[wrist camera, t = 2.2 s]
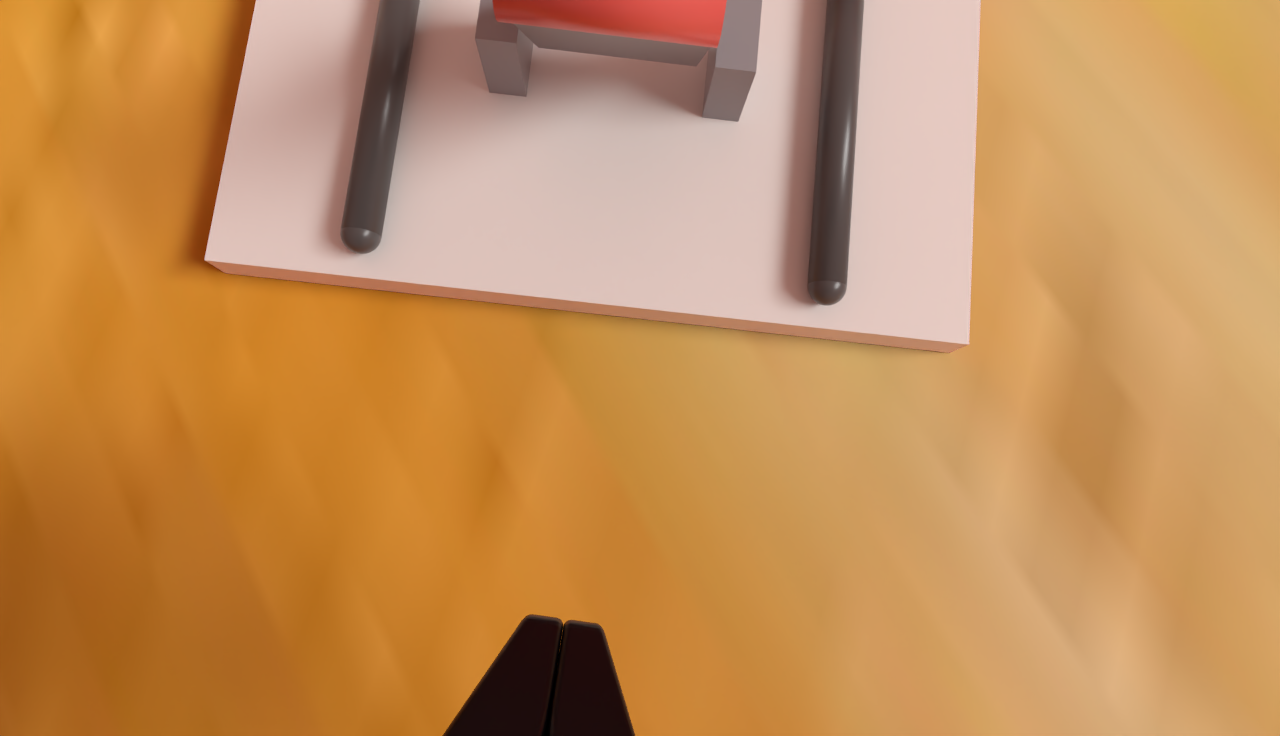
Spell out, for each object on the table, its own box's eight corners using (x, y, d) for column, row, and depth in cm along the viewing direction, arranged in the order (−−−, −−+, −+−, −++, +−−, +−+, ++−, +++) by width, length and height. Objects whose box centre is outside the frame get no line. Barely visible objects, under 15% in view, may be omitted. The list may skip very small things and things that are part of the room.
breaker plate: (949, 352, 23) (1018, 322, 19) (225, 273, 22) (148, 226, 18) (964, -34, 25) (1029, -130, 21) (300, -117, 24) (246, -231, 20)
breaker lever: (693, 76, 21) (721, 42, 14) (540, 58, 21) (488, 14, 14) (701, 10, 21) (734, -60, 14) (545, -9, 21) (495, -89, 13)
